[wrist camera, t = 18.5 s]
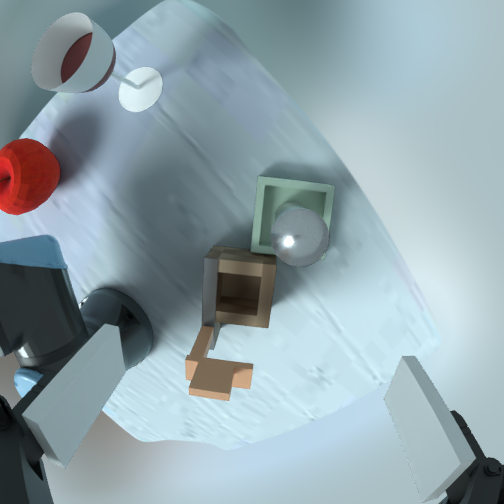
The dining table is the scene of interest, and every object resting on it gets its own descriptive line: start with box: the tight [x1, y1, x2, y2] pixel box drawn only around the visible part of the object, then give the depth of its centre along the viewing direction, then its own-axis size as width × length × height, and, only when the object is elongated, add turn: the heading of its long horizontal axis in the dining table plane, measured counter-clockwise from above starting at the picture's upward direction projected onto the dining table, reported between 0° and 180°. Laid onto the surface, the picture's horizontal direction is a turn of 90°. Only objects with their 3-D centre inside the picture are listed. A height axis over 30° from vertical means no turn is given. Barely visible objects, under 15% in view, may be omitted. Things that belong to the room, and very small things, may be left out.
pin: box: [271, 201, 330, 267], centre depth 34 cm, size 6×6×13 cm
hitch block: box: [202, 246, 277, 350], centre depth 42 cm, size 9×14×6 cm, turn 175°
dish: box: [251, 176, 335, 260], centre depth 39 cm, size 10×10×3 cm
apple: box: [0, 138, 60, 215], centre depth 35 cm, size 12×12×13 cm
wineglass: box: [31, 13, 163, 112], centre depth 27 cm, size 8×9×20 cm
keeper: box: [185, 326, 253, 401], centre depth 33 cm, size 7×3×13 cm, turn 85°
